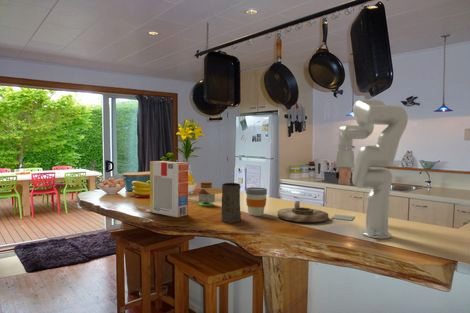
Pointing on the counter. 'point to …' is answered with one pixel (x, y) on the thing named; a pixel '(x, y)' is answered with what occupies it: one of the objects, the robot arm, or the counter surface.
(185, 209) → the pasta box
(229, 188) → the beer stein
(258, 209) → the reusable coffee cup
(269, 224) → the counter surface
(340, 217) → the mat
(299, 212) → the lazy susan
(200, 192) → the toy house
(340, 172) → the pink mug
